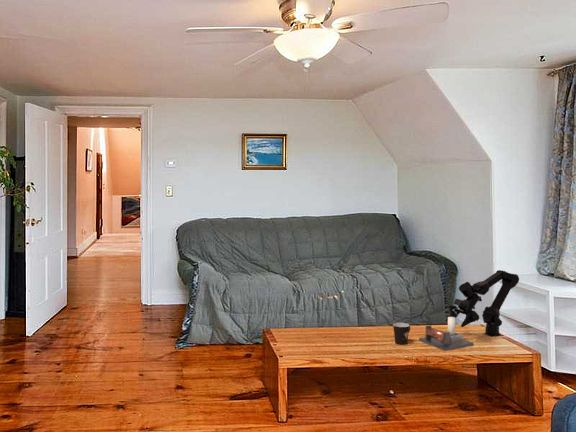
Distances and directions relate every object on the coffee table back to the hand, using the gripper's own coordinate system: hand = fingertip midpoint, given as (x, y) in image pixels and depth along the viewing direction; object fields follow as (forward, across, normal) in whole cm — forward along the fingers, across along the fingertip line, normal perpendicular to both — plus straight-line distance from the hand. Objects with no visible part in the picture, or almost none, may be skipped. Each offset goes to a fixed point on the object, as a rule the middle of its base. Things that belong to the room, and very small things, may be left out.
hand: (455, 324), depth 284 cm
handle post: (+7, 0, +4) cm, 8 cm away
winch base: (+11, 0, +2) cm, 11 cm away
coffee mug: (+26, -10, -12) cm, 30 cm away
